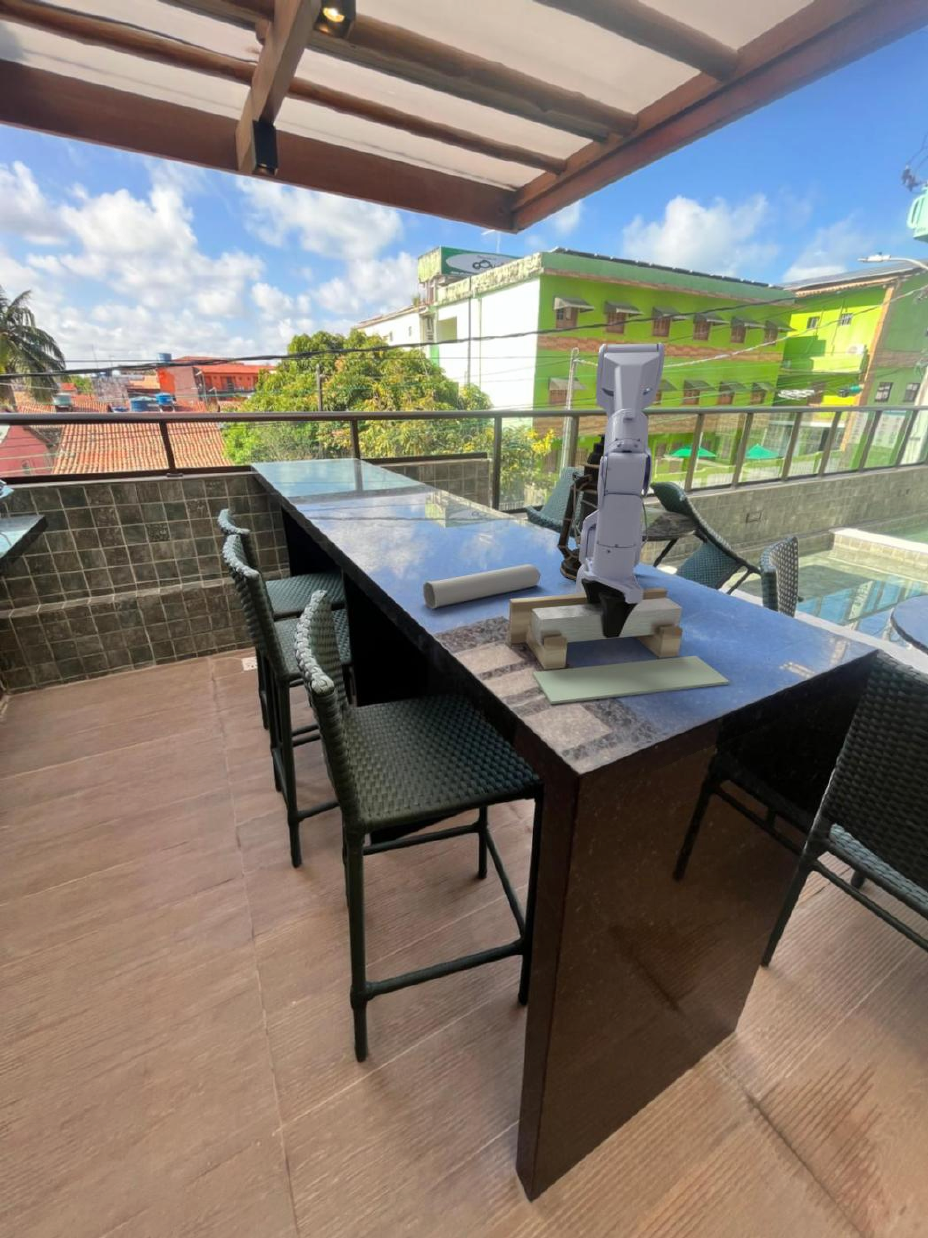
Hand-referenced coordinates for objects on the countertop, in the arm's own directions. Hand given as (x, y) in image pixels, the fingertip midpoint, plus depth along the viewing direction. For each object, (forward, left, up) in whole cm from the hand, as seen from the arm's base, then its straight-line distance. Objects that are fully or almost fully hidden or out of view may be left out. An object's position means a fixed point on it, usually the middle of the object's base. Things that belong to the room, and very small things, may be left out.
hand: (604, 630), depth 76 cm
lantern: (-35, +15, -4) cm, 38 cm away
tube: (-27, -12, -4) cm, 30 cm away
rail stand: (-2, 0, -4) cm, 4 cm away
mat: (+9, 0, -4) cm, 9 cm away
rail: (0, 0, 0) cm, 0 cm away
